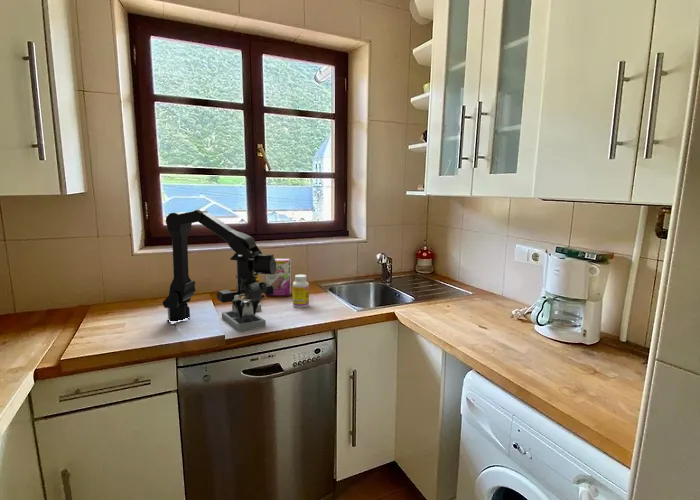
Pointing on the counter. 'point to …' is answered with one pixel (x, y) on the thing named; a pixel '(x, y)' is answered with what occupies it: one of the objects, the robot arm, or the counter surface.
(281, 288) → the candy bar box
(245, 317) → the billet
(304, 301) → the supplement bottle
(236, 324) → the grey divided tray
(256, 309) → the button collar
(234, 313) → the seated billet
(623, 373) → the counter surface
